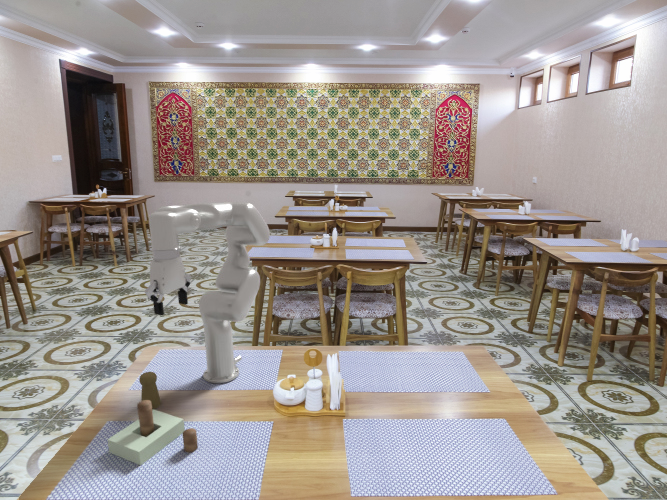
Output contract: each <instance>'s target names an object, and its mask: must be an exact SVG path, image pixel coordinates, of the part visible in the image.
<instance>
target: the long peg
mask: <svg viewBox="0 0 667 500" xmlns="http://www.w3.org/2000/svg"><path fill="white" fill-rule="evenodd" d="M136 407H137V415H138V419H139V423H140V432H141V436H144V437H147V436H149V435H150V434H152V433H153V432H154V422H153V413H152V410H153V409H152V404H151V401H150V400H143V401H139V402H138V403H137V406H136Z"/></svg>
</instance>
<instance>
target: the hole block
mask: <svg viewBox="0 0 667 500" xmlns="http://www.w3.org/2000/svg"><path fill="white" fill-rule="evenodd" d="M152 413H153V422H154V432H153V433H152V434H150V435H149V436H147V437H144V436H141V432H140V423H139V418H138V419H136V420H135V421H134V422H132V423H130V424H129V425H127V426H126V427H125V428H123V429H120V430H119V431H118V432H117V433H115V434H114V435H112V436H110V437H109V438H108V439H107V444H108V445H107V446H108V451H109V452H108V453H110V454H112V455H115V456H117V457H119V458H121V459H124V460H127V461H129V462H132V463H134V464H137V465H139V466H142V465H143V464H144V463H146V462H147V461H149V460H150V459H151V458H152V457H154V456H155V455H156V454H157V453H159V452H160V451H162V450H163V449H164V448H165V447H166V446H168V445H169V444H171V442H173V441H175V439H177V438H178V437H180V436H181V435H183V432H184V431H185V430H186V429H185V419H184V418H181V417H178V416H175V415H172V414H170V413H167V412H163V411H160V410H157V409H152Z"/></svg>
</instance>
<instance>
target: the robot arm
mask: <svg viewBox="0 0 667 500" xmlns="http://www.w3.org/2000/svg"><path fill="white" fill-rule="evenodd" d="M148 225H149V232H150V242H151V252H152V254H151V255H152V260H151V261H150V266H149V285H148V286H147V288H146V289H145V290H144V293H145V295H146V297H147V299H149V301H151V302H152V304H153V311H154V312H153V313H154V315H159V316H163V315H165V312H164V311H165V310H164V302H163V301H162V299H163V298H164V295H167V294H170V293H172V292H175V291H177V299H178V300H177V301H178V304H180V305H188V304H189V302H188V301H189V300H188V291H189V287H190V284H191V279H192V275H191V274H189V273H186V272H185V266H184V262H183V258H182V256H181V254H180V253H181V252H180V251H182V250H181V249H182V248H181V247H180V242H179V241H180V240H179V235H180V234H191V233H194V232H196V231H197V230H214V229H219V228H226V229H225V238H226V244H227V250H228V251H227V255H226V258H225V261H224V262H223V264H222V266H221V268H220V270H219V272H218V274H217V276H216V279H215V286H216V288H217V290H209V291H206V292H204V293H203V294H202V295H201V297H200V299H199V301H198V309H199V313H200V317H201V320H202V324H203V331H204V333H203V334H204V344H205V358H206V368H207V369H206V370H204V372H203V375H202V376H203V379H204V381H205V382H207V383H211V384H225V383H229V382H231V381H233V380H235V379H236V378H238V376H239V375H240V369H239V367H238V366H237V363H239V362H240V361H242V359H243V357H242V356H241V355H237V356H235V354H234V341H233V338H234V337H233V328H232V325H231V322H237V323H238V322H242V321H244V320H245V319H246V318H247V316H248V314H249V312H250V311H251V308H252V305H253V303H254V301H255V299H256V297H257V295H258V292H259V290H260V285H261V276H260V274H259V272H258V271H257V270H255V269H253V268H249V265H250V261H251V258H250V255H249V254H250V253H248V251H247V248H246V246H257V247H260V246H261V247H262V246H265V245H266V244H267V243H268V242H269V240H270V237H271V236H270V235H271V233H270V228H269V225H268V223H267V222H266V221H265V219H264V217H263V216H262V215H261V213H260V212H259V210H258V209H257V207H255V205H254V204H252V203H250V202H234V201H225V202H224V201H223V202H213V203H197V204H188V205H187V204H185V205H184V204H183V205H171V206H170V205H168V206H161V207H160V208H158V209H157V210H156V211H154V212H152V213H150V214H149V215H148Z"/></svg>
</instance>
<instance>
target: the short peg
mask: <svg viewBox="0 0 667 500" xmlns="http://www.w3.org/2000/svg"><path fill="white" fill-rule="evenodd" d="M182 441H183V443H182V444H183V450H184V452H186V453H187V454H188V453H189V454H191V453H194V452H195V451H197V450H198V435H197V429H195V428H193V427H192V428H191V427H190V428H186V429H185V431H184V432H183V433H182Z"/></svg>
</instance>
